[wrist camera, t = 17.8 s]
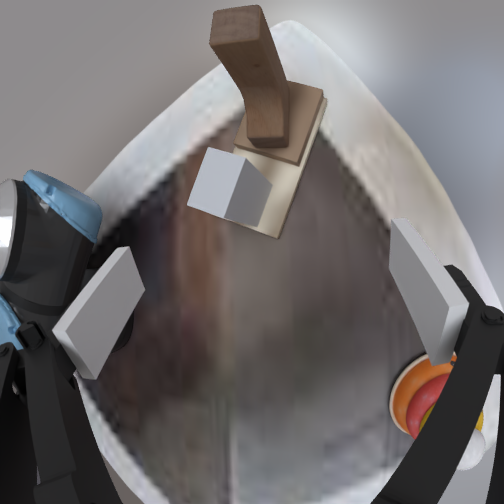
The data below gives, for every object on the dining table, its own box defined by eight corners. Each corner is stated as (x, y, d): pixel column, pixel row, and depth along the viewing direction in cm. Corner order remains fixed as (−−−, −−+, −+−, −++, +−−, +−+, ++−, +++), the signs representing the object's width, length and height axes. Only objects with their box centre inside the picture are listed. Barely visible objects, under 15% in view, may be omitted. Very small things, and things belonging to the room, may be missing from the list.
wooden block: (288, 148, 40) (257, 81, 22) (254, 148, 41) (201, 87, 23) (289, 87, 39) (260, 2, 22) (257, 89, 40) (212, 9, 23)
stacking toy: (488, 377, 36) (548, 436, 18) (426, 443, 39) (455, 523, 20) (434, 327, 39) (493, 377, 20) (368, 400, 41) (382, 484, 22)
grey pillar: (230, 217, 44) (186, 204, 31) (245, 176, 44) (208, 147, 30) (257, 227, 43) (223, 218, 30) (272, 185, 43) (245, 157, 29)
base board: (214, 214, 46) (203, 212, 42) (263, 86, 44) (257, 74, 40) (278, 238, 44) (273, 237, 40) (327, 102, 42) (326, 90, 38)
